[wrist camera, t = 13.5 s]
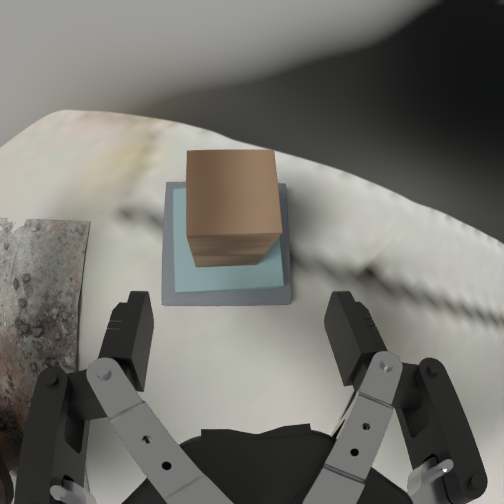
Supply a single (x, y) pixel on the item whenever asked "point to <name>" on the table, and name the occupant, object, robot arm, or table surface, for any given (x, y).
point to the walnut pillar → (231, 206)
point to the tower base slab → (222, 298)
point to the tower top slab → (220, 277)
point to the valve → (35, 321)
